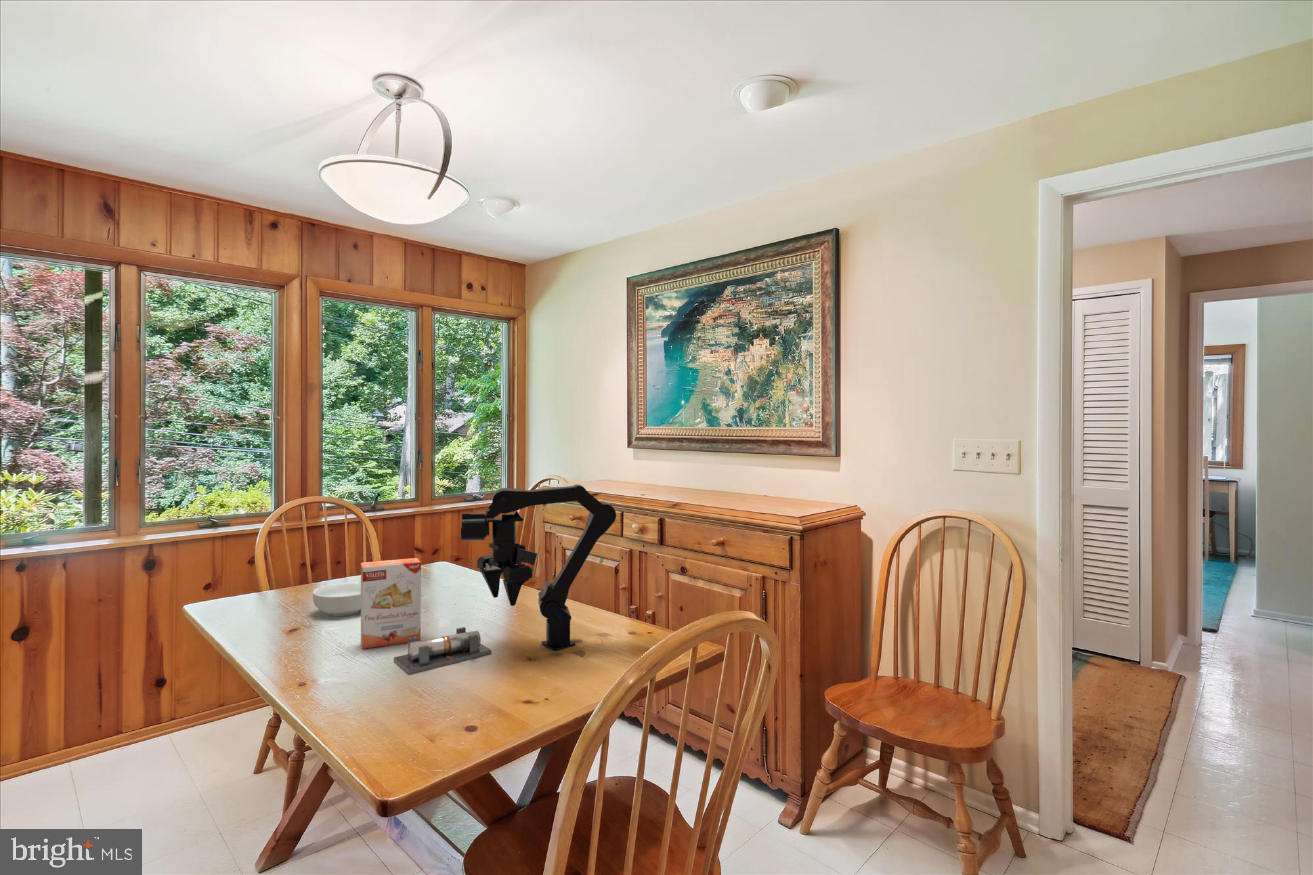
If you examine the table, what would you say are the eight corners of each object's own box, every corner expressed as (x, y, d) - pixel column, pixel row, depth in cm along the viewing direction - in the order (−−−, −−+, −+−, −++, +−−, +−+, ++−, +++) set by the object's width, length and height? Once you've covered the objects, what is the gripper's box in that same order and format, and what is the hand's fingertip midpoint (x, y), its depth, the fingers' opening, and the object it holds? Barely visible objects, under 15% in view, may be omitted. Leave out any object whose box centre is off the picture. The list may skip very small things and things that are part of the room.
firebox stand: (491, 653, 157) (491, 633, 157) (408, 674, 144) (408, 652, 144) (473, 642, 165) (473, 623, 165) (393, 661, 152) (393, 640, 152)
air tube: (476, 647, 160) (474, 630, 161) (481, 646, 157) (479, 629, 158) (409, 660, 151) (407, 642, 152) (413, 660, 148) (411, 641, 149)
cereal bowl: (358, 621, 182) (358, 596, 182) (300, 620, 182) (300, 596, 182) (385, 604, 199) (385, 581, 199) (332, 603, 199) (332, 580, 199)
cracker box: (362, 650, 159) (361, 566, 159) (360, 642, 165) (359, 561, 164) (421, 641, 166) (421, 560, 165) (418, 634, 171) (417, 556, 171)
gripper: (551, 540, 158) (551, 603, 158) (515, 530, 172) (515, 588, 173) (510, 546, 151) (510, 612, 151) (476, 535, 165) (476, 595, 165)
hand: (504, 601), depth 160 cm, fingers open, 9 cm apart
